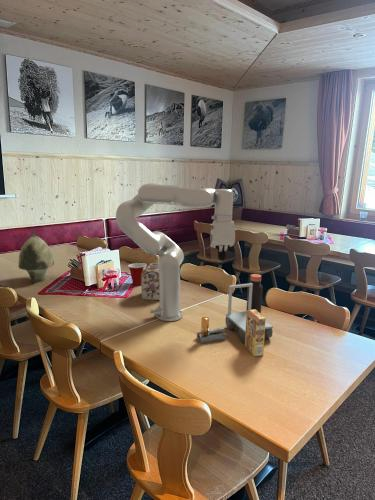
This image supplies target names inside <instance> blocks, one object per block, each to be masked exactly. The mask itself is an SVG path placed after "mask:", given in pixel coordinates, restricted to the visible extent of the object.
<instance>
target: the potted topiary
mask: <svg viewBox="0 0 375 500" xmlns="http://www.w3.org/2000/svg"><path fill="white" fill-rule="evenodd" d="M31 233H32V236H29V238H27V239H26V240H25V242H24V243H23V244H22V246H21V248H20V252H19V256H18V269H20V270H22V271H26V272H27V274H28V275H29V279H30V282H32V283H39V282H43V281H45V280H46V273H47V271H48V269H49V268H51V267H53V266H55V262H54V257H53V253H52V251H51V248H50V247H49V245H48V243H47V242H46V241H45V240H43V238H41V237H39V236H38V235H36V234H35V231H31Z"/></svg>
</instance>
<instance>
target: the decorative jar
mask: <svg viewBox="0 0 375 500" xmlns="http://www.w3.org/2000/svg"><path fill="white" fill-rule="evenodd" d="M140 286H141V288H140V289H141V300H147V301H159V269H158V262H151V263H150V264H149V265H147V266H145V267H144V268H143V271H142V275H141V285H140Z"/></svg>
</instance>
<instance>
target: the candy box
mask: <svg viewBox="0 0 375 500" xmlns="http://www.w3.org/2000/svg"><path fill="white" fill-rule="evenodd" d="M246 310H247V309H246ZM246 310H245V311H246ZM265 321H267V319H266V317H265V316H264V315H262V313H261V314H260V313H259V312H258V311H257V310H256V309H255V310H247V311H246V334H245V342H244V346H245V347H246V349H247V350H248V351H249V352H250V353H251V354H252V356H253V357H258V356H259V357H260V356H264V354H265V353H264V350H265V347H264V346H265V339H264V337H265Z"/></svg>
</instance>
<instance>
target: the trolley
mask: <svg viewBox="0 0 375 500" xmlns="http://www.w3.org/2000/svg"><path fill="white" fill-rule="evenodd" d="M248 287H249V301H248V310H251V303H252V288H253V284H252V283H251V282H249V283H241V284H232V285H229V286H228V304H227V313H225V325H226V328H227V329H228V330H236V329H237V327H238V334H237V335H238V338H239V340H240V342H242V343H245V334H246V310H244V311H238V312H232V300H233V299H232V298H233V289H239V288H240V289H241V288H248ZM273 328H274V326H273V325H272V324H270V323H269V322H268V321H267V320H266V321H265V337H264V340H266V339H269V338H270V339H271V338H272V336H273Z"/></svg>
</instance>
